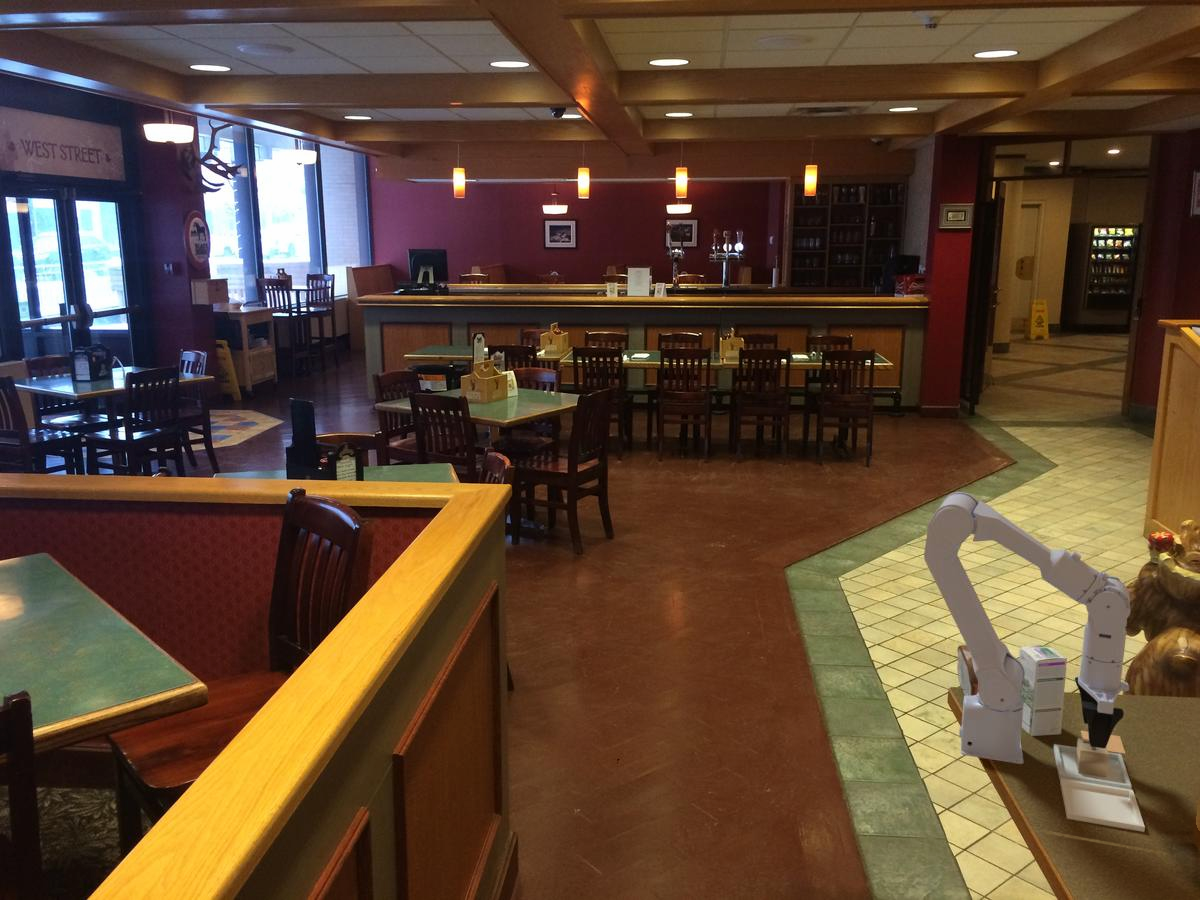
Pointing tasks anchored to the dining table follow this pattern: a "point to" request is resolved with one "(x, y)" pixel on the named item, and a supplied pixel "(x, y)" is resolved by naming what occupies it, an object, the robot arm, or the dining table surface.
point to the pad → (1110, 743)
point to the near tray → (1101, 804)
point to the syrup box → (1042, 689)
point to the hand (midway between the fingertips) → (1094, 734)
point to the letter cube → (1091, 759)
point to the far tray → (1069, 771)
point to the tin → (966, 672)
